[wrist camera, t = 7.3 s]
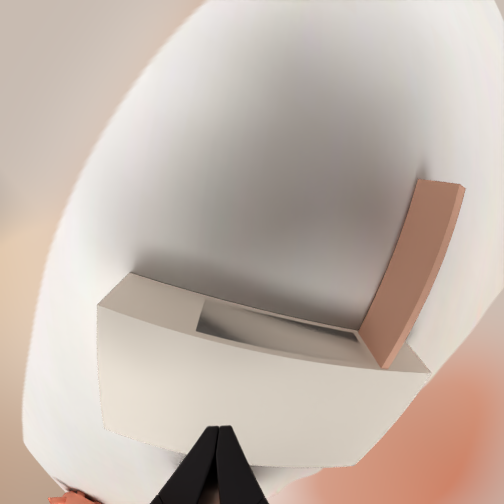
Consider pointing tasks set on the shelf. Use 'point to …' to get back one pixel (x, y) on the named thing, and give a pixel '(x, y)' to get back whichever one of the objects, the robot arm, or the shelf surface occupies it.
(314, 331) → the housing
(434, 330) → the shelf surface
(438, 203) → the side door
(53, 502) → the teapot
